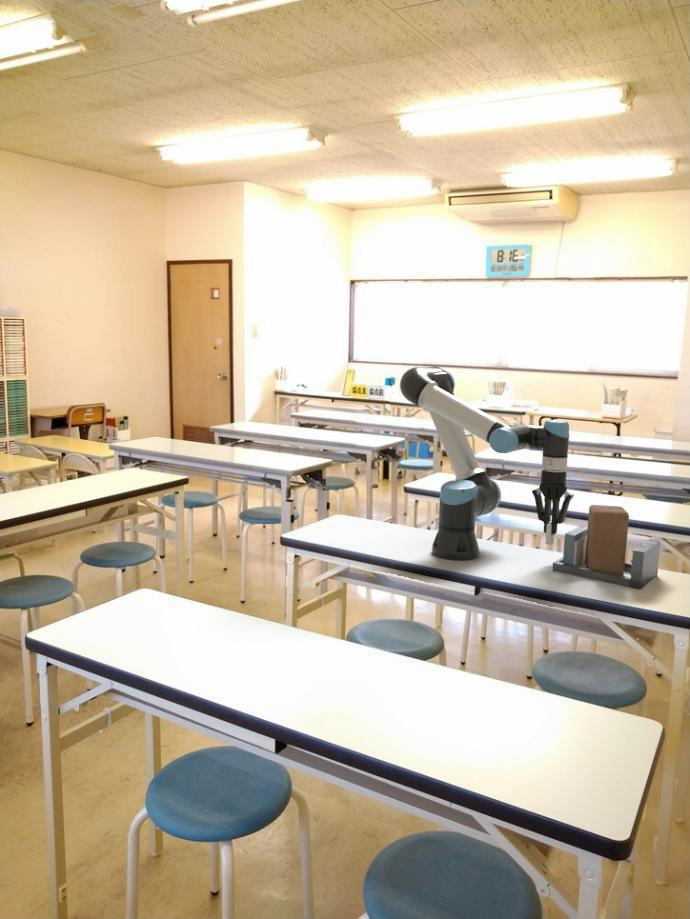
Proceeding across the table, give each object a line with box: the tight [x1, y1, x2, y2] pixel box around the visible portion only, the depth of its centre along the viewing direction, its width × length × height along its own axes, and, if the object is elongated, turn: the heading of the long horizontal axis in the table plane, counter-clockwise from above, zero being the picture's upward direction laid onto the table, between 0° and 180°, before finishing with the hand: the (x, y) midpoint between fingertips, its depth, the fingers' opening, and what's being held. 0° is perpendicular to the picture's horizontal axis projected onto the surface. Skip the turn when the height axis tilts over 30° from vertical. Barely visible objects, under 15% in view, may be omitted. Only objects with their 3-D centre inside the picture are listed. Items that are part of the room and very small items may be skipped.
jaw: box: [562, 526, 588, 567], centre depth 222 cm, size 4×11×11 cm, turn 142°
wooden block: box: [584, 504, 630, 576], centre depth 216 cm, size 10×10×20 cm
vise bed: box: [551, 538, 662, 591], centre depth 217 cm, size 26×17×11 cm, turn 52°
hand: (549, 543), depth 227 cm, fingers closed
